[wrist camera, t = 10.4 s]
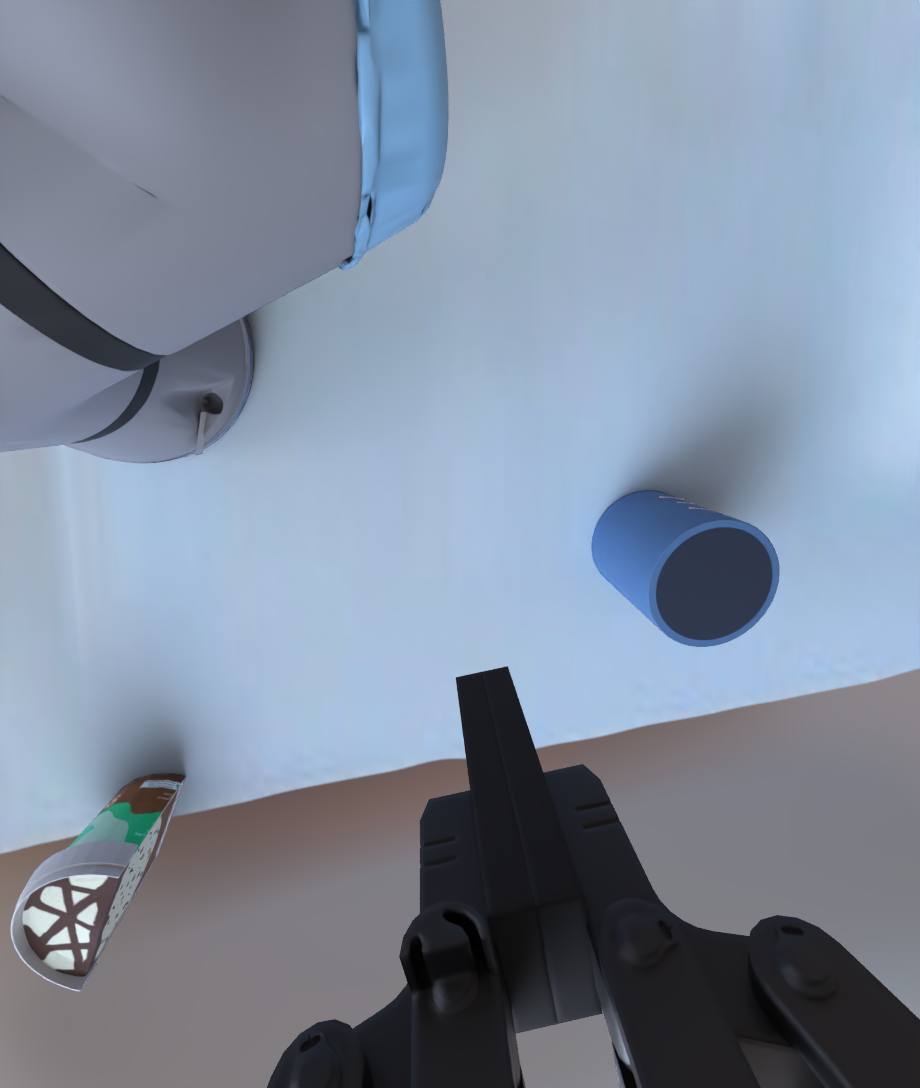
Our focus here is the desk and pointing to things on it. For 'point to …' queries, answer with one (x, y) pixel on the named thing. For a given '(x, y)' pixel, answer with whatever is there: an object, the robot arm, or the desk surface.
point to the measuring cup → (686, 566)
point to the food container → (92, 883)
